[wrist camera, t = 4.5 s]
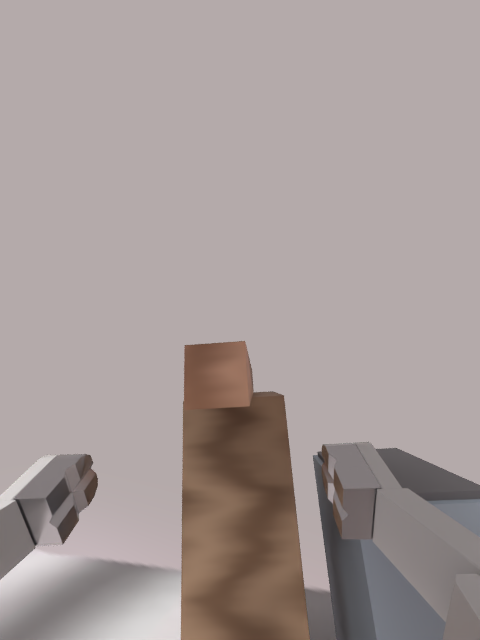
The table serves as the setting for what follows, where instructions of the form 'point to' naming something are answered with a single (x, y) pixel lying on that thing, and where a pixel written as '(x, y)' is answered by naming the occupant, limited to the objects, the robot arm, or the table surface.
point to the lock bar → (217, 376)
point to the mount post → (240, 526)
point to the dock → (377, 570)
